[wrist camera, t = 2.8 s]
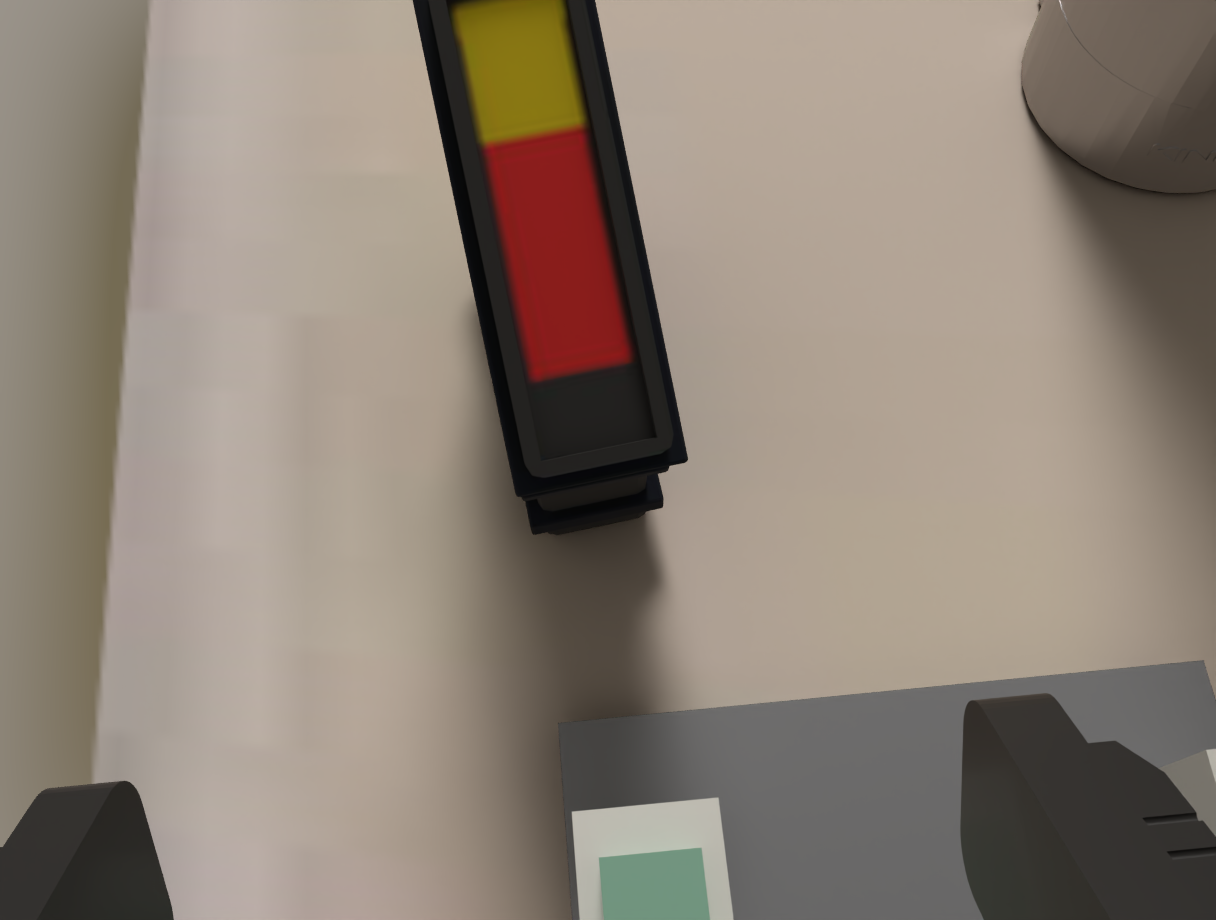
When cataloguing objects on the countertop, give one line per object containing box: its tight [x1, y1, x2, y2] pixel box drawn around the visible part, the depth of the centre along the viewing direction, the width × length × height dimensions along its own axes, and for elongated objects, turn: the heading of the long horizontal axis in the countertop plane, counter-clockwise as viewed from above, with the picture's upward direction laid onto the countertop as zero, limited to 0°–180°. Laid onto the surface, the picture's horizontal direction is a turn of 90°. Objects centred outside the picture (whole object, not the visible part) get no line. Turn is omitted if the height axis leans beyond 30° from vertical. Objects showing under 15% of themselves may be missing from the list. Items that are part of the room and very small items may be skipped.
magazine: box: [413, 0, 688, 535], centre depth 31 cm, size 4×13×15 cm, turn 12°
